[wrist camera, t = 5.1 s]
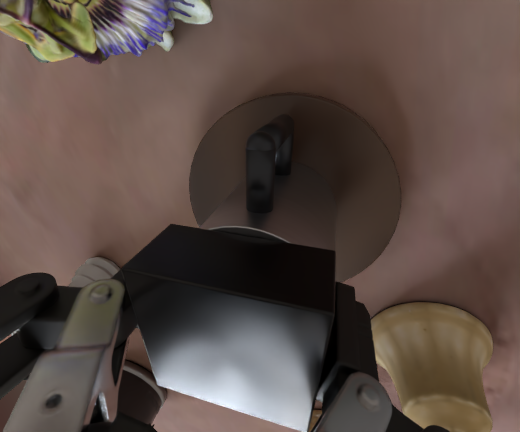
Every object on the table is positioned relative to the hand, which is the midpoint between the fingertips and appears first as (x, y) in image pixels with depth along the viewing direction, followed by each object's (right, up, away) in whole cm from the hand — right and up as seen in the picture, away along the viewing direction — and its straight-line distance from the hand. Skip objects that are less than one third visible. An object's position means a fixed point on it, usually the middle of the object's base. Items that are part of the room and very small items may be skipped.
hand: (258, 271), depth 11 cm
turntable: (+2, +3, +6) cm, 7 cm away
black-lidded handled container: (+2, +4, +4) cm, 6 cm away
